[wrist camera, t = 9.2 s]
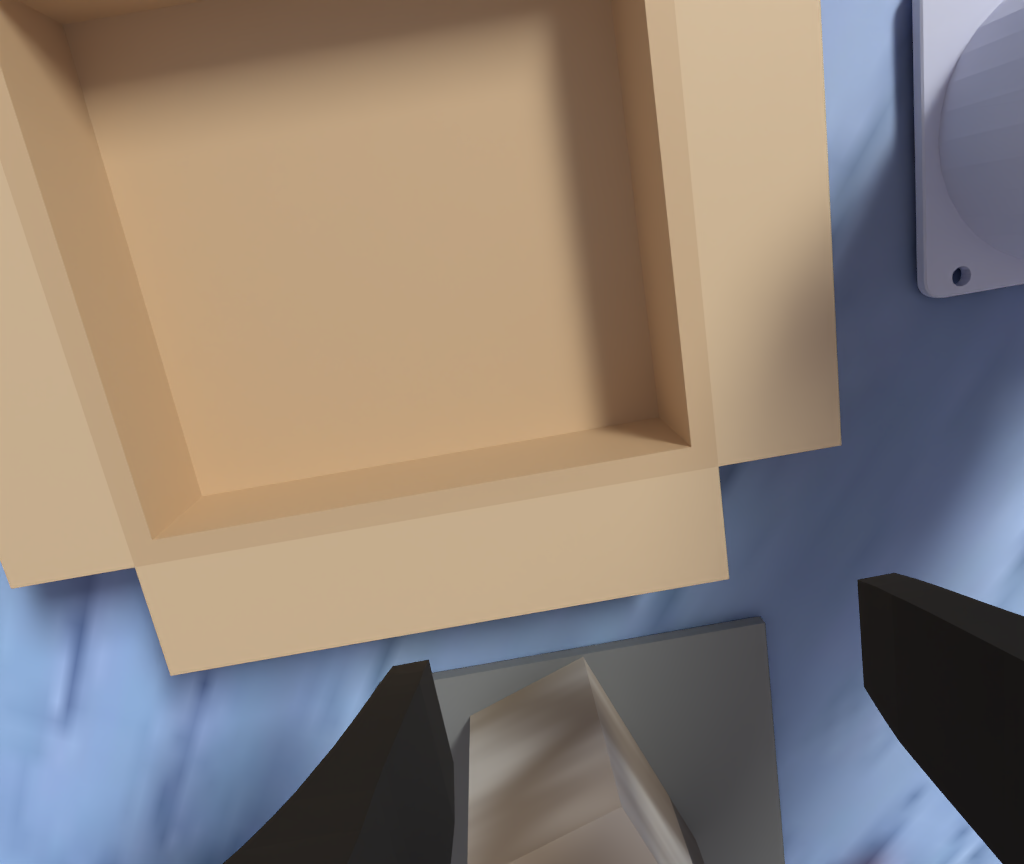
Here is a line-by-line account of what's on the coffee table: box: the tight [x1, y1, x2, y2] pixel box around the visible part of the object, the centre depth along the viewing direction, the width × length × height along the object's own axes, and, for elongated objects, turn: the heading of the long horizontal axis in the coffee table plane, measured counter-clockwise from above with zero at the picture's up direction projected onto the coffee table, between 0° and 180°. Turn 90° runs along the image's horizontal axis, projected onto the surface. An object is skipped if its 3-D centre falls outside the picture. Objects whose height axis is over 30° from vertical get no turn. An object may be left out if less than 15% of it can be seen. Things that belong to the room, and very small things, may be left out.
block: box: [467, 657, 704, 864], centre depth 20 cm, size 4×8×6 cm, turn 30°
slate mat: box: [380, 616, 785, 864], centre depth 23 cm, size 12×10×1 cm
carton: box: [0, 0, 841, 676], centre depth 17 cm, size 20×19×4 cm
